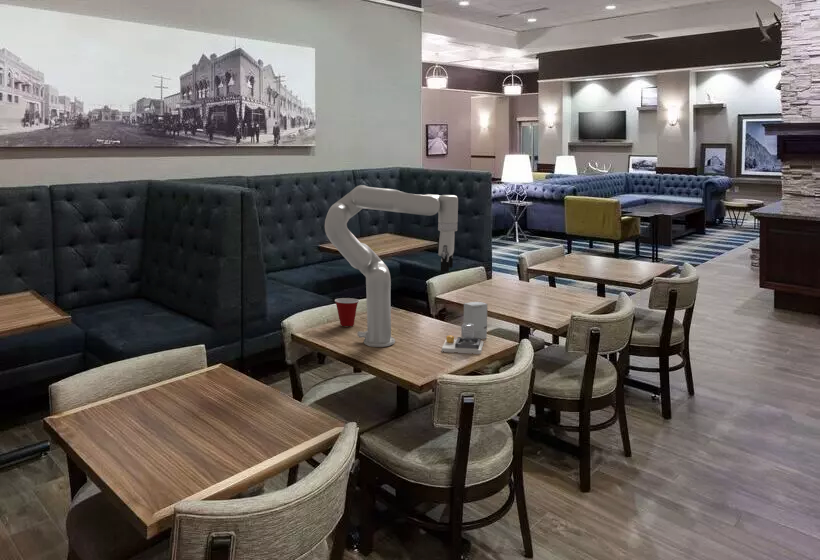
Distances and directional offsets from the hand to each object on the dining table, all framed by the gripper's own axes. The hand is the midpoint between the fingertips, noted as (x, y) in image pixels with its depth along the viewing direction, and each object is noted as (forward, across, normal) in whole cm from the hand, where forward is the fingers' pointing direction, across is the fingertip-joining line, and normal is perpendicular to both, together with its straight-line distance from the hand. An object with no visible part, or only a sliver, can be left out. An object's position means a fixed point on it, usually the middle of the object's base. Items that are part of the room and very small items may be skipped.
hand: (446, 269), depth 250 cm
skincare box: (+30, -6, +12) cm, 32 cm away
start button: (+28, +6, +3) cm, 29 cm away
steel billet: (+28, +8, +10) cm, 31 cm away
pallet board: (+29, +8, +8) cm, 32 cm away
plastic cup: (+31, -14, -46) cm, 57 cm away
